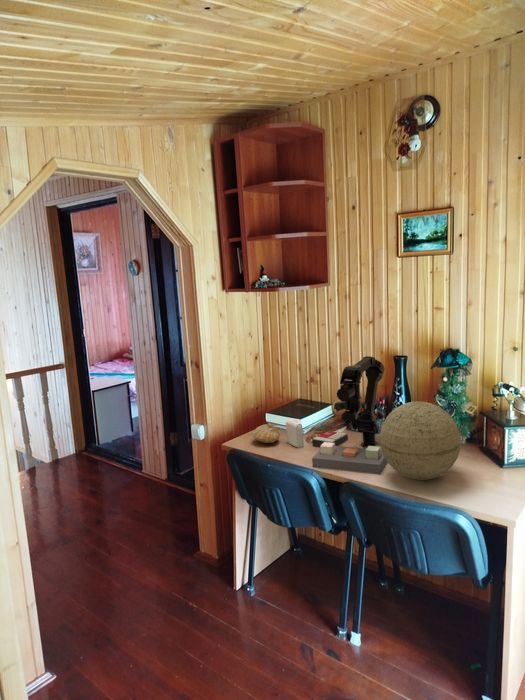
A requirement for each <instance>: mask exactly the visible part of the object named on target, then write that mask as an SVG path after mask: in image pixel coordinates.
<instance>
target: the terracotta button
mask: <svg viewBox="0 0 525 700" xmlns="http://www.w3.org/2000/svg"><path fill="white" fill-rule="evenodd" d="M357 454H358V449H353V448H346V449H345V450H344V451H343V456H345V457H356V456H357Z"/></svg>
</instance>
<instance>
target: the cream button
mask: <svg viewBox="0 0 525 700" xmlns="http://www.w3.org/2000/svg"><path fill="white" fill-rule="evenodd" d="M320 449H321V454H325V455H333V454H334V453H335V443H330V442H324V443H323V444H322V445H321V446H320V448H319V450H320Z"/></svg>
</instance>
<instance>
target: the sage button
mask: <svg viewBox="0 0 525 700" xmlns="http://www.w3.org/2000/svg"><path fill="white" fill-rule="evenodd" d="M366 448H367V449H366V459H376V460H379V459H380V457H381V446H377V445H376V446H368V447H366Z"/></svg>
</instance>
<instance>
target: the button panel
mask: <svg viewBox="0 0 525 700" xmlns="http://www.w3.org/2000/svg"><path fill="white" fill-rule="evenodd" d="M346 448H353V449H358V454H357V456H356V457H345V456H343V451H344V450H345V449H346ZM367 448H368V447H366V448H365V447H355V446H343V445H342V446H341V445H339V446H335V453H334V454H333V455H325V454H321V449H320V448H319V450H318V451H317V452H316V453H315V454H314V455H313V456H312V457H311V461H312V463H311V464H312V468H320V469H321V468H322V469H327V470H329V469H330V470H339V471H340V470H341V471H348V472H356V473H367V474H373V475H374V474H375V475H380V474H381V473H382V472H383V470H384V468H385V467H386V465H387V464H388V462H387V460H386V459H385V457H384V455H383V452H382V450H381V457H380V459H379V460H376V459H366V449H367Z"/></svg>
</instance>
